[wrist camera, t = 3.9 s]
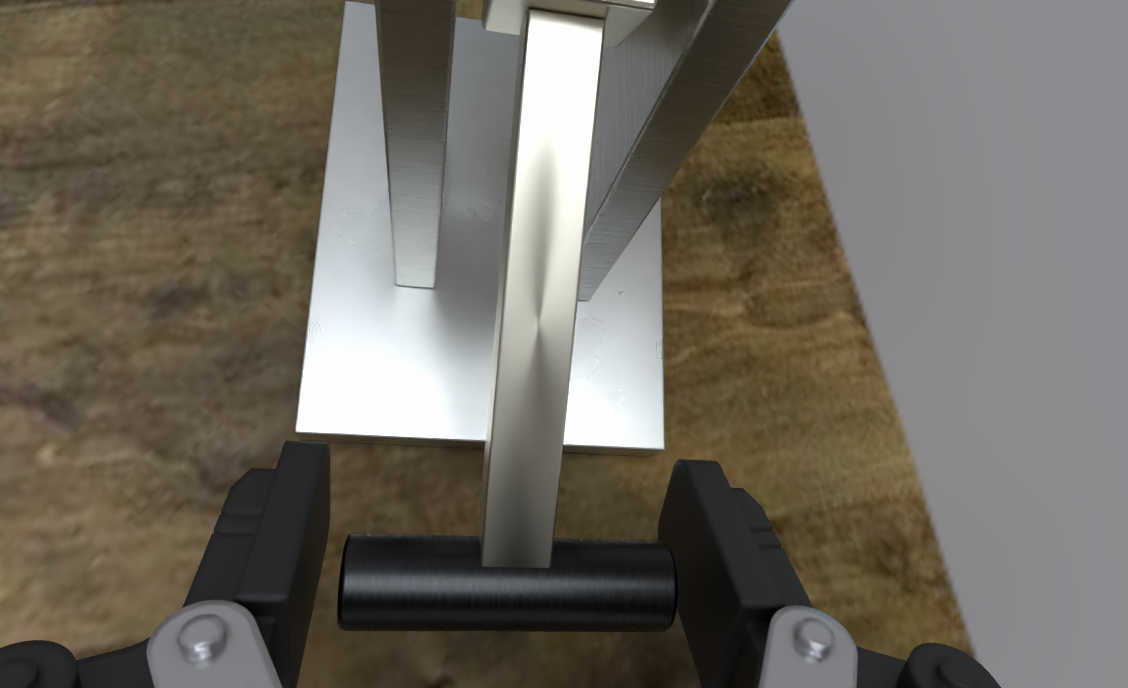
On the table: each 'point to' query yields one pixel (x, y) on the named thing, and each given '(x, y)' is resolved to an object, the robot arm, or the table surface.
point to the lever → (527, 384)
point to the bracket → (496, 221)
